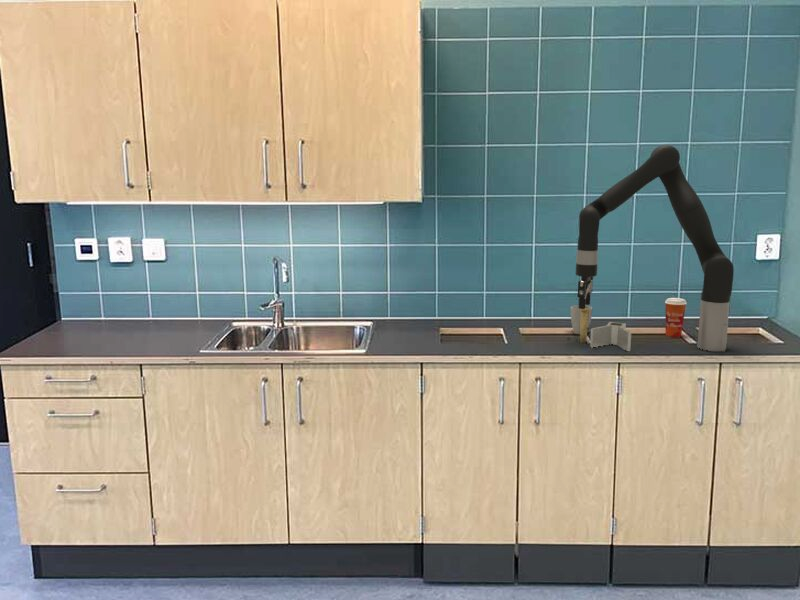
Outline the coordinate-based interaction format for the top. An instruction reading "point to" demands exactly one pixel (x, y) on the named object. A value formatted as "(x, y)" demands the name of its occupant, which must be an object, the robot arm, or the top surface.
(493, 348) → the top surface
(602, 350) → the top surface
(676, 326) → the paper cup
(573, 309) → the cup
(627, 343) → the grey finned stand
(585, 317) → the pin
